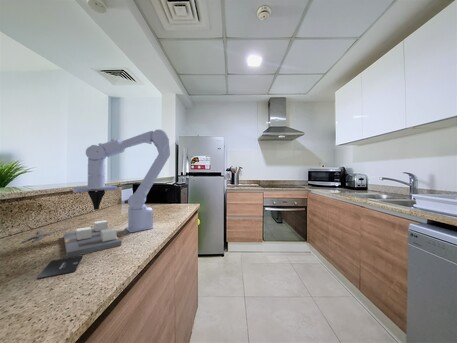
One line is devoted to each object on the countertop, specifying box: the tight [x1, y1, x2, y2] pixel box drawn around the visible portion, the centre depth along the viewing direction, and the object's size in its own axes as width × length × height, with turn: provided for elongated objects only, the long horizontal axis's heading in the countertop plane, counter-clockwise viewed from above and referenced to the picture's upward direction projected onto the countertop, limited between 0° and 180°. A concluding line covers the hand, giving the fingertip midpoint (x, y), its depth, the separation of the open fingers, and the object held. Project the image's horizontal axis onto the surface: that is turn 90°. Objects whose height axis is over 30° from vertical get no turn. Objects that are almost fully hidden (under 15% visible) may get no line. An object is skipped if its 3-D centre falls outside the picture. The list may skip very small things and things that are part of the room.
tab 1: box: [75, 226, 93, 240], centre depth 67 cm, size 4×4×3 cm
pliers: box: [21, 225, 71, 244], centre depth 76 cm, size 10×1×20 cm
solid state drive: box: [37, 255, 83, 280], centre depth 50 cm, size 7×10×1 cm
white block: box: [101, 227, 118, 242], centre depth 66 cm, size 4×4×3 cm
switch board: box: [63, 227, 122, 258], centre depth 68 cm, size 14×23×2 cm, turn 43°
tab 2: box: [93, 219, 109, 231], centre depth 76 cm, size 4×4×3 cm
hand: (96, 209), depth 78 cm, fingers closed
